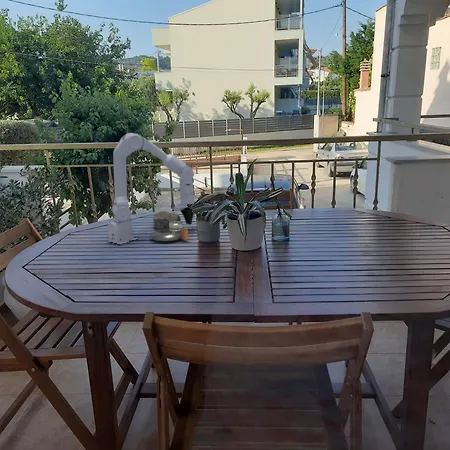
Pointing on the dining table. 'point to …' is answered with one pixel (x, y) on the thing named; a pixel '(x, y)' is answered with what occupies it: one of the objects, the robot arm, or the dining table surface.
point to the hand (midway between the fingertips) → (188, 223)
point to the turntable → (169, 235)
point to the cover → (175, 226)
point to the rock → (165, 219)
